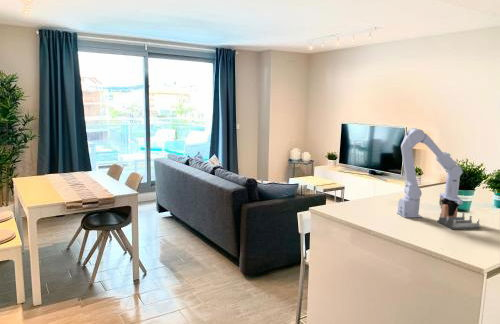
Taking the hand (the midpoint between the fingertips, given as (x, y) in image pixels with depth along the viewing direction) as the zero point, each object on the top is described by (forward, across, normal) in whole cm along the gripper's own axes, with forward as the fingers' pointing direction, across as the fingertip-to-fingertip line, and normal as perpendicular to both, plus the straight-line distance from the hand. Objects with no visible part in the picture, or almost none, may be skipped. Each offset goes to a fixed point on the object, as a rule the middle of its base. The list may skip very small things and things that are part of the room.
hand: (449, 214), depth 189 cm
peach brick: (+2, 0, 0) cm, 2 cm away
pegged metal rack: (+2, -11, +3) cm, 12 cm away
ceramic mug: (+2, +18, -12) cm, 22 cm away
